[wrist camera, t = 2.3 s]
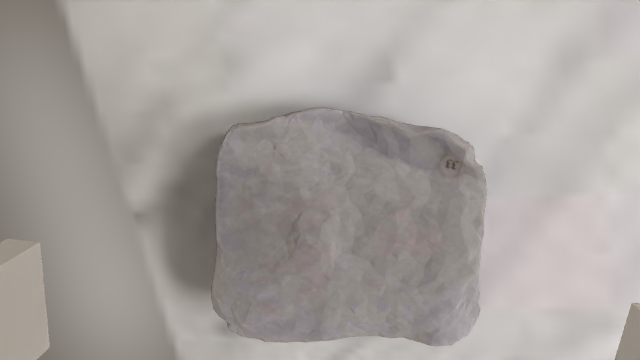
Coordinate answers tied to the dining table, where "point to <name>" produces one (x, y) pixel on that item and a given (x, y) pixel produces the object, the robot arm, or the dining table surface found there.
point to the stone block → (347, 229)
